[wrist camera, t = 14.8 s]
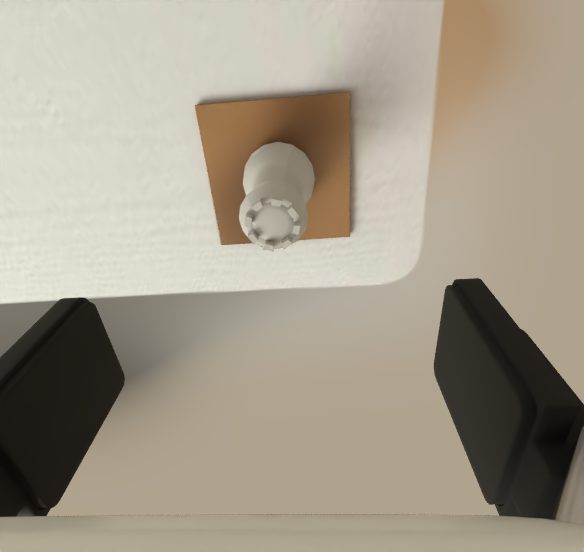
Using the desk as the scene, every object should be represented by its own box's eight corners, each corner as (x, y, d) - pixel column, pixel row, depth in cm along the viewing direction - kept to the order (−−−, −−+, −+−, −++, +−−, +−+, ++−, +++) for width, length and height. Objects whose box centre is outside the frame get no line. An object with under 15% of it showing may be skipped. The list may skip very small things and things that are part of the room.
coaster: (349, 91, 22) (350, 92, 21) (349, 234, 26) (350, 236, 26) (196, 104, 22) (194, 105, 22) (222, 242, 26) (221, 245, 26)
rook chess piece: (257, 128, 22) (239, 160, 15) (325, 157, 23) (338, 199, 16) (235, 196, 24) (211, 250, 17) (298, 220, 25) (299, 281, 18)
